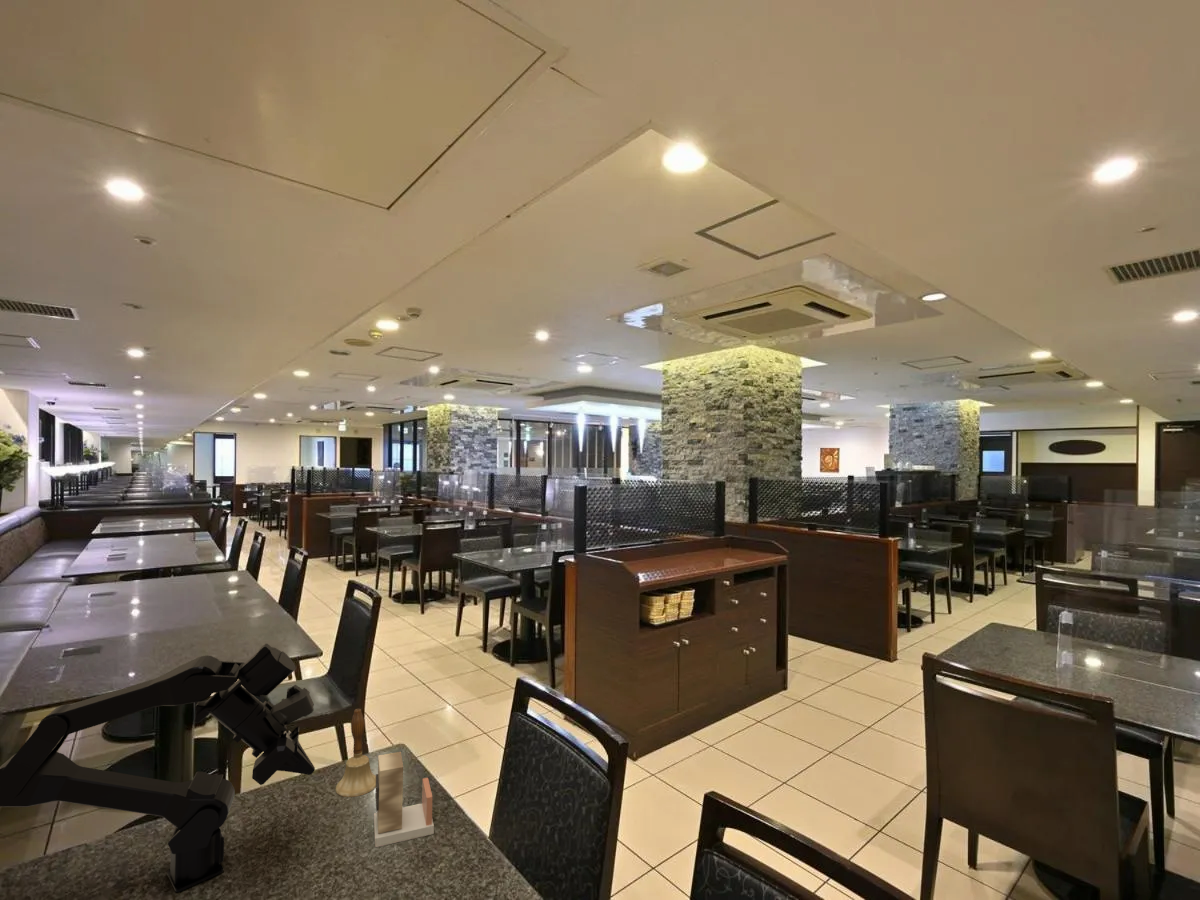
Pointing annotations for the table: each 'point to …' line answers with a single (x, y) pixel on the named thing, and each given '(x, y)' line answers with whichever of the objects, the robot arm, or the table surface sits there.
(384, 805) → the tan tall block
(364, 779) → the hand bell
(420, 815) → the base
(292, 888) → the table surface
